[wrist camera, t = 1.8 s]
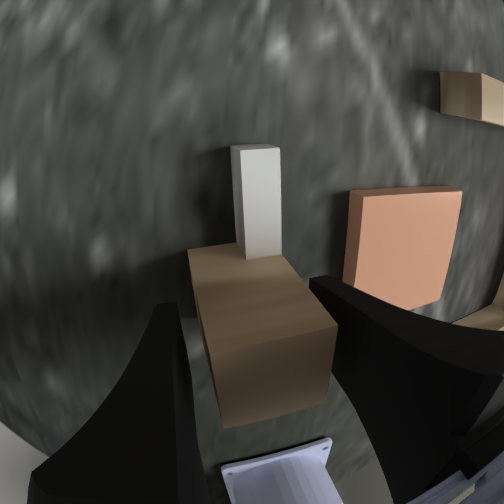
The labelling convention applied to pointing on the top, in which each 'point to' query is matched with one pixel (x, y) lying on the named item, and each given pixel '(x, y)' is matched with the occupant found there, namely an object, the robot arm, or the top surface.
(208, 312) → the wood block with post
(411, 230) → the terracotta tile
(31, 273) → the top surface
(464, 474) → the robot arm
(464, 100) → the tile rest
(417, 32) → the top surface
